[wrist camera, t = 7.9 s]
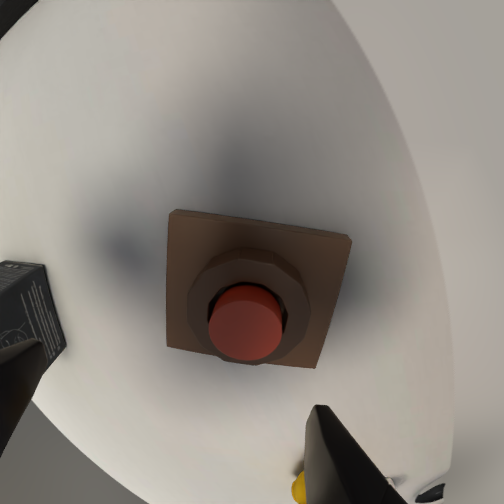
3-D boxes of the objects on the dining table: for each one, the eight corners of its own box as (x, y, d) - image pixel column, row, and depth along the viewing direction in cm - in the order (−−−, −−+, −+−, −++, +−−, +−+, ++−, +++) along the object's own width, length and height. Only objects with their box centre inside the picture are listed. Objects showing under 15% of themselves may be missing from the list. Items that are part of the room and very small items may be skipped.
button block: (347, 234, 17) (361, 252, 14) (313, 358, 20) (318, 387, 17) (175, 208, 17) (156, 221, 14) (171, 336, 20) (158, 363, 17)
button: (287, 289, 15) (288, 306, 14) (275, 345, 17) (275, 365, 15) (217, 279, 15) (210, 295, 14) (212, 335, 17) (206, 354, 15)
